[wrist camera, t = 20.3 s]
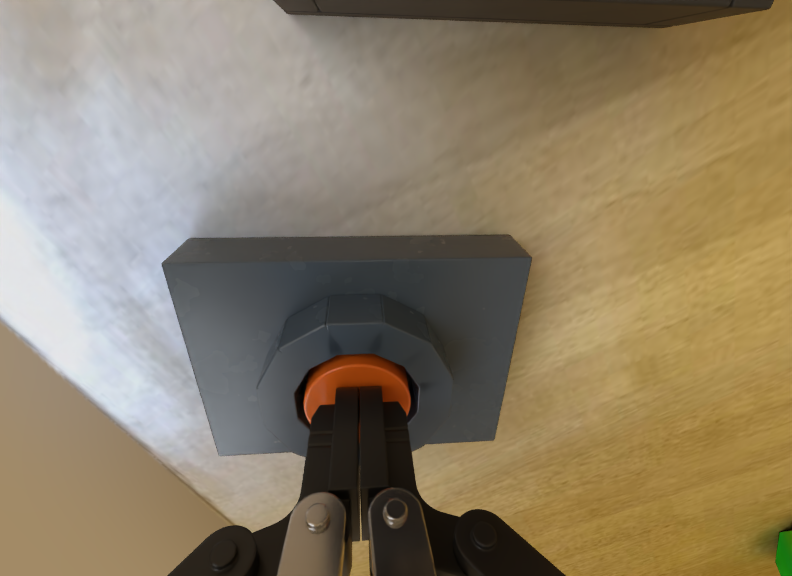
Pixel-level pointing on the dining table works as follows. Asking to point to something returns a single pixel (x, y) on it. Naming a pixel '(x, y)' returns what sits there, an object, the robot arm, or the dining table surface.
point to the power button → (355, 380)
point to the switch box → (347, 328)
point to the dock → (536, 10)
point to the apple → (784, 553)
